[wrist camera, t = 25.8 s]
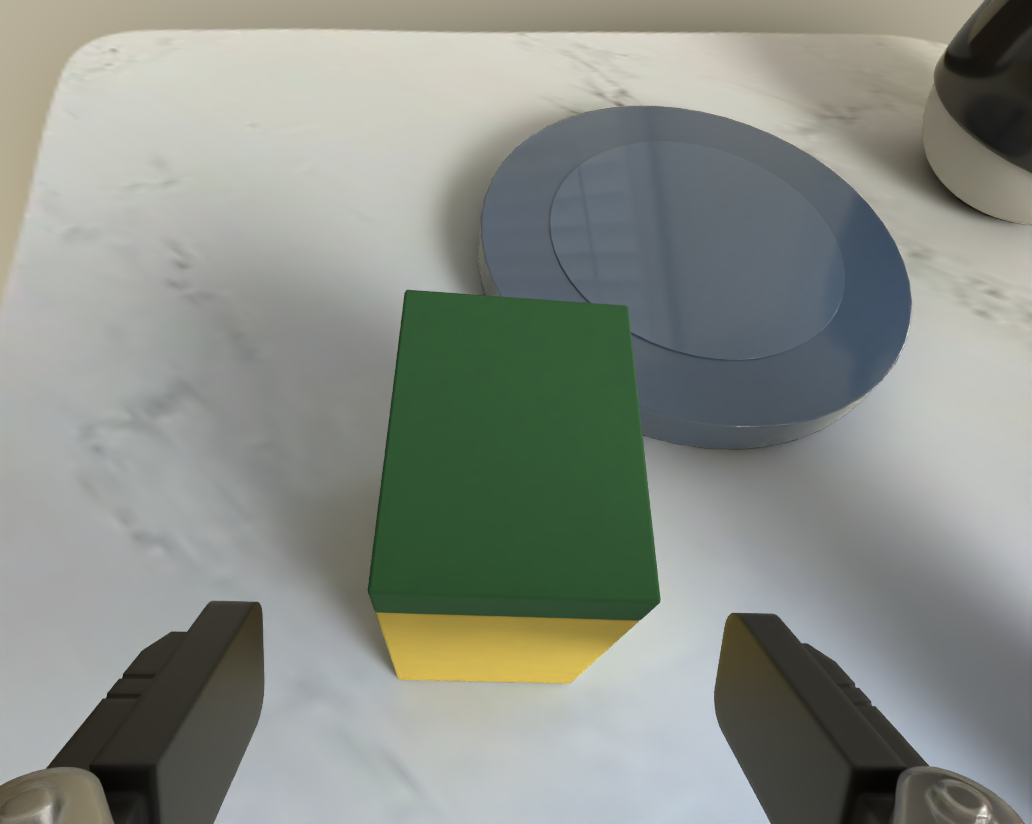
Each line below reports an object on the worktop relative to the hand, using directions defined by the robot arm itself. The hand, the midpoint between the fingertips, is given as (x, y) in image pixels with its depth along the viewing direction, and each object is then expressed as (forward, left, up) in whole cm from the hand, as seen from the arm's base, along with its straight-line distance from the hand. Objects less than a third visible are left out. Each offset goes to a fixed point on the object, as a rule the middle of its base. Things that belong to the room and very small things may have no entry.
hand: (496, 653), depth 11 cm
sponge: (+1, +3, -6) cm, 7 cm away
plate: (+12, +12, -6) cm, 18 cm away
